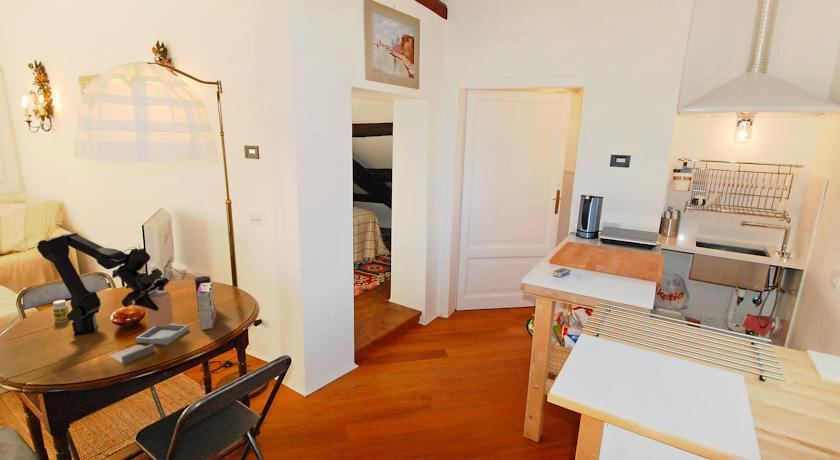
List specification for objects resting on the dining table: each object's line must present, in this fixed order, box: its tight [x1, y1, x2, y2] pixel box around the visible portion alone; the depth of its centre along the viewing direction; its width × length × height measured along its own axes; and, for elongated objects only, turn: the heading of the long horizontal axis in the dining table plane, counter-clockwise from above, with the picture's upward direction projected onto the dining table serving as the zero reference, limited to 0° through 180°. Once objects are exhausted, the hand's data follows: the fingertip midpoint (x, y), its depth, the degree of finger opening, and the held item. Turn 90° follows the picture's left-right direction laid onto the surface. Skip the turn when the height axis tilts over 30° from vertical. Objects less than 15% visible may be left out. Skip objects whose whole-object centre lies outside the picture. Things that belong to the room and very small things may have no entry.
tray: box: [135, 323, 190, 346], centre depth 160 cm, size 12×12×2 cm
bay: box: [109, 343, 155, 365], centre depth 147 cm, size 10×10×3 cm
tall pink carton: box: [147, 290, 174, 327], centre depth 158 cm, size 6×5×13 cm
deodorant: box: [194, 275, 211, 312], centre depth 184 cm, size 6×6×15 cm
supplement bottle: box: [52, 299, 70, 323], centre depth 171 cm, size 5×5×8 cm
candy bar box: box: [196, 281, 217, 331], centre depth 170 cm, size 11×5×16 cm, turn 21°
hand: (163, 307), depth 157 cm, fingers closed on tall pink carton, 5 cm apart
